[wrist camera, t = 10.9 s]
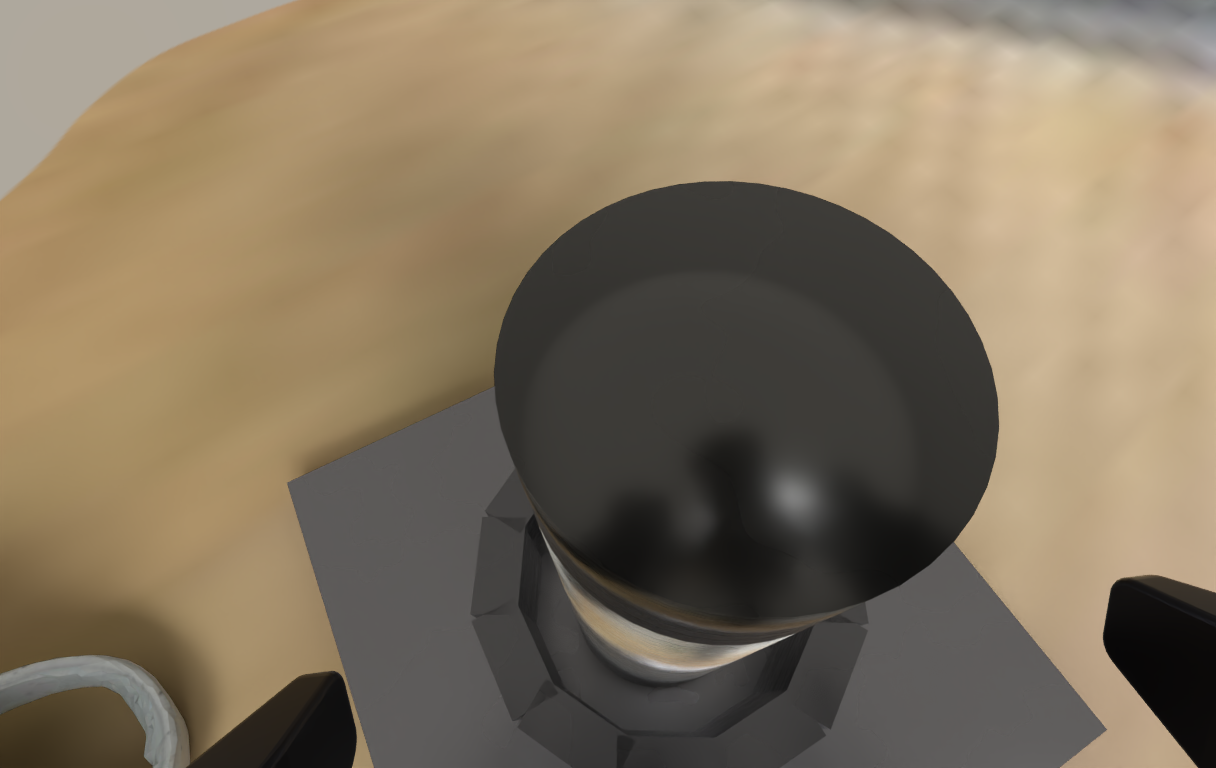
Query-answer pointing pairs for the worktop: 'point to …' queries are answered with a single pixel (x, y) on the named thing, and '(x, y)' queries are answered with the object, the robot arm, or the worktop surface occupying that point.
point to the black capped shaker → (738, 419)
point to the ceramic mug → (119, 675)
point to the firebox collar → (602, 700)
